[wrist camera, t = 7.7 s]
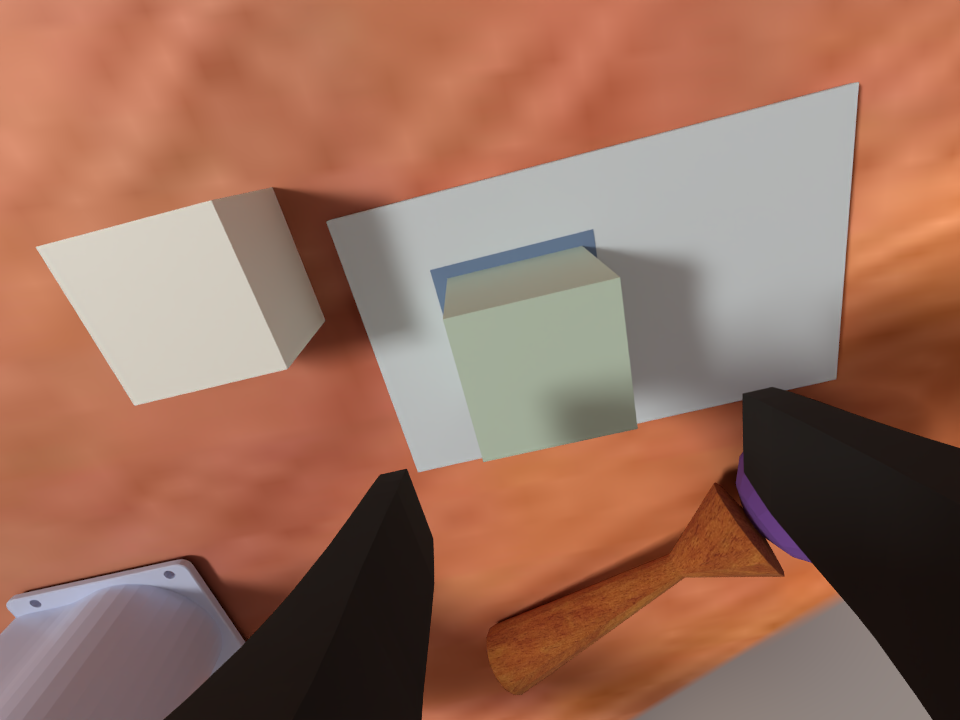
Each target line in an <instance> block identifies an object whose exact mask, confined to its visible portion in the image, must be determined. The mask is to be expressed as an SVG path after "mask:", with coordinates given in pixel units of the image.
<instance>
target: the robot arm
mask: <svg viewBox="0 0 960 720" xmlns="http://www.w3.org/2000/svg"><path fill="white" fill-rule="evenodd" d="M742 399H743V461H744V473H745V475H746V477H747V478H748V480H749V481H750V483H751V485H752V486H753V488H754V489H755V491H756V493H757V494H758V496H759V497H760V499H761V500H762V502H763V503H764V505H765V506H766V508H767V509H768V510H769V512H770V513H771V515H772V516H773V517H774V518H775V520H776V521H777V522H778V523H779V524H780V526H781V527H782V528H783V529H784V530H785V532H786V533H787V534H788V535H789V536H790V538H791V539H792V540H793V541H794V542H795V543H796V545H797V546H798V547H799V548H800V549H801V551H802V552H803V553H804V554H805V555H806V556H807V558H808V559H809V560H810V561H811V562H812V563H813V565H814V566H815V567H816V568H817V569H818V570H819V571H820V573H821V574H822V575H823V576H824V577H825V578H826V580H827V581H828V582H829V583H830V584H831V585H832V587H833V588H834V589H835V590H836V591H837V592H838V594H839V595H840V596H841V597H842V598H843V599H844V601H845V602H846V603H847V604H848V605H849V606H850V608H851V609H852V610H853V611H854V612H855V614H856V615H857V616H858V617H859V619H860V620H861V621H862V622H863V624H864V625H865V626H866V627H867V629H868V630H869V631H870V632H871V634H872V635H873V636H874V637H875V639H876V640H877V641H878V643H879V644H880V646H881V647H882V648H883V650H884V651H885V653H886V654H887V655H888V657H889V658H890V660H891V661H892V662H893V664H894V665H895V666H896V668H897V669H898V671H899V672H900V674H901V675H902V676H903V678H904V679H905V681H906V682H907V683H908V685H909V686H910V688H911V689H912V690H913V692H914V693H915V695H916V696H917V697H918V699H919V700H920V702H921V703H922V705H923V706H924V707H925V709H926V711H927V712H928V714H929V715H930V716H931V718H932V719H933V720H960V448H958V447H954V446H951V445H948V444H944V443H941V442H938V441H934V440H931V439H928V438H924V437H921V436H918V435H915V434H912V433H909V432H906V431H903V430H900V429H897V428H894V427H891V426H888V425H885V424H882V423H879V422H876V421H873V420H870V419H867V418H864V417H861V416H858V415H856V414H853V413H850V412H847V411H844V410H841V409H838V408H836V407H833V406H830V405H827V404H824V403H821V402H819V401H816V400H813V399H810V398H807V397H804V396H801V395H798V394H795V393H792V392H789V391H786V390H782V389H779V388H775V387H769V388H765V389H760V390H756V391H752V392H747V393H743V394H742ZM433 592H434V548H433V537H432V534H431V531H430V529H429V526H428V523H427V521H426V518H425V515H424V513H423V510H422V507H421V505H420V502H419V500H418V497H417V494H416V492H415V489H414V486H413V484H412V481H411V478H410V476H409V473H408V470H407V469H404V470H399V471H395V472H390V473H386V474H381V475H380V476H379V477H378V478H377V479H376V481H375V482H374V483H373V485H372V486H371V488H370V489H369V490H368V492H367V493H366V495H365V496H364V497H363V499H362V500H361V502H360V503H359V505H358V506H357V507H356V509H355V510H354V512H353V513H352V515H351V516H350V517H349V519H348V520H347V521H346V523H345V524H344V525H343V527H342V528H341V530H340V531H339V532H338V534H337V535H336V536H335V538H334V539H333V541H332V542H331V543H330V545H329V546H328V547H327V549H326V550H325V551H324V552H323V554H322V555H321V556H320V557H319V559H318V560H317V561H316V562H315V564H314V565H313V566H312V567H311V569H310V570H309V571H308V572H307V574H306V575H305V576H304V577H303V579H302V580H301V581H300V582H299V584H298V585H297V586H296V587H295V589H294V590H293V591H292V592H291V593H290V594H289V596H288V597H287V598H286V599H285V600H284V601H283V602H282V604H281V605H280V606H279V607H278V608H277V609H276V610H275V612H274V613H273V614H272V615H271V616H270V617H269V618H268V619H267V620H266V621H265V622H264V623H263V624H262V625H261V627H260V628H259V629H258V630H257V631H256V632H255V633H254V634H253V635H252V636H251V637H250V638H249V639H248V640H247V641H246V642H245V641H244V639H243V638H242V636H241V635H240V633H239V632H238V631H237V629H236V628H235V626H234V625H233V623H232V622H231V620H230V619H229V617H228V616H227V614H226V613H225V611H224V610H223V608H222V607H221V605H220V604H219V603H218V601H217V600H216V598H215V597H214V595H213V594H212V592H211V591H210V589H209V588H208V586H207V585H206V583H205V582H204V580H203V579H202V577H201V576H200V574H199V573H198V572H197V570H196V569H195V567H194V566H193V564H192V563H191V562H190V561H188V560H184V559H178V560H173V561H169V562H164V563H160V564H155V565H150V566H146V567H141V568H137V569H132V570H127V571H123V572H118V573H114V574H109V575H104V576H100V577H95V578H91V579H86V580H81V581H77V582H72V583H68V584H63V585H58V586H54V587H49V588H45V589H40V590H35V591H31V592H26V593H22V594H17V595H14V596H13V597H12V598H11V599H10V600H9V601H8V602H7V603H6V604H7V608H8V610H9V611H10V612H11V613H12V614H13V615H14V616H15V617H16V618H15V619H14V620H13V621H12V622H11V623H10V624H9V626H8V627H7V628H6V629H5V630H4V631H3V632H2V633H1V634H0V720H422V705H423V692H424V682H425V672H426V662H427V652H428V643H429V633H430V623H431V613H432V603H433Z"/></svg>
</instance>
